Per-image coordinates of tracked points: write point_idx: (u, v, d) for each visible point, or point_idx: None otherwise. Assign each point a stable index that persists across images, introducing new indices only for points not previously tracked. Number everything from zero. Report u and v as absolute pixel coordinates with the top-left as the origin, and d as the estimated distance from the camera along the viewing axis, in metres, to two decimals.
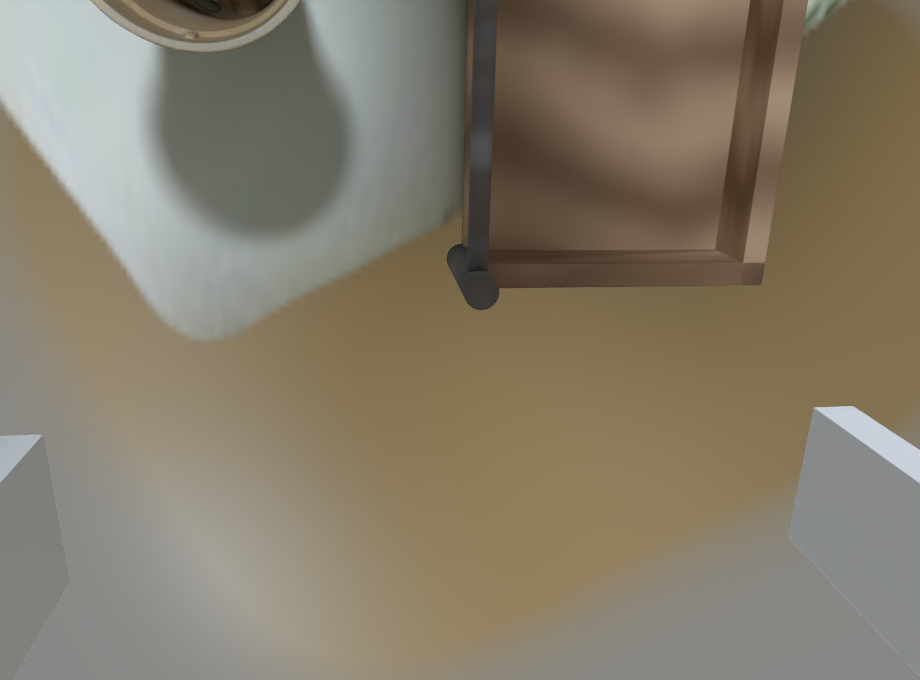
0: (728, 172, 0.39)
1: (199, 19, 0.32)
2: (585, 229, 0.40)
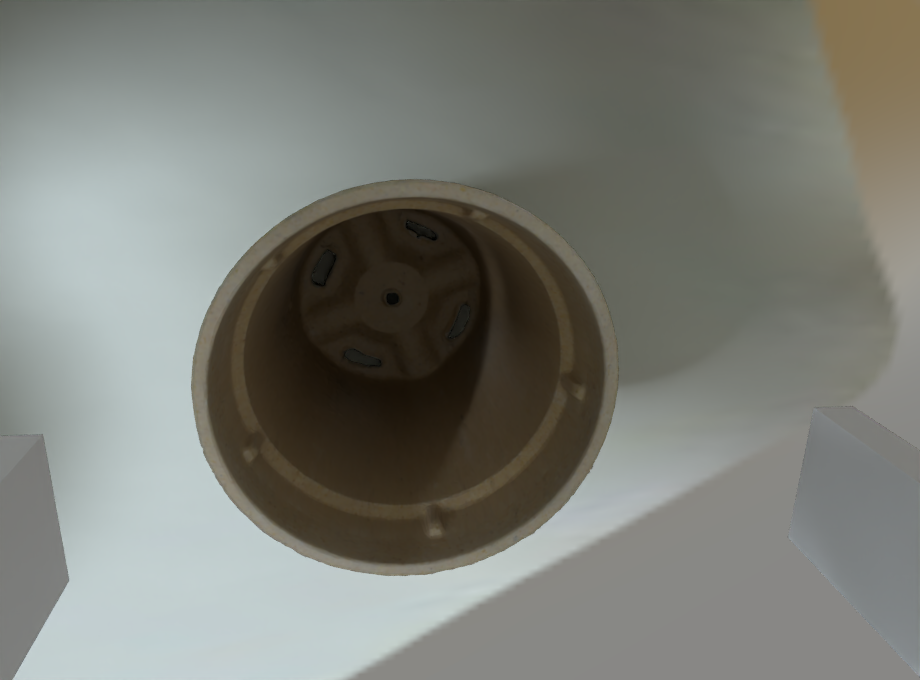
0: None
1: (501, 344, 0.22)
2: None
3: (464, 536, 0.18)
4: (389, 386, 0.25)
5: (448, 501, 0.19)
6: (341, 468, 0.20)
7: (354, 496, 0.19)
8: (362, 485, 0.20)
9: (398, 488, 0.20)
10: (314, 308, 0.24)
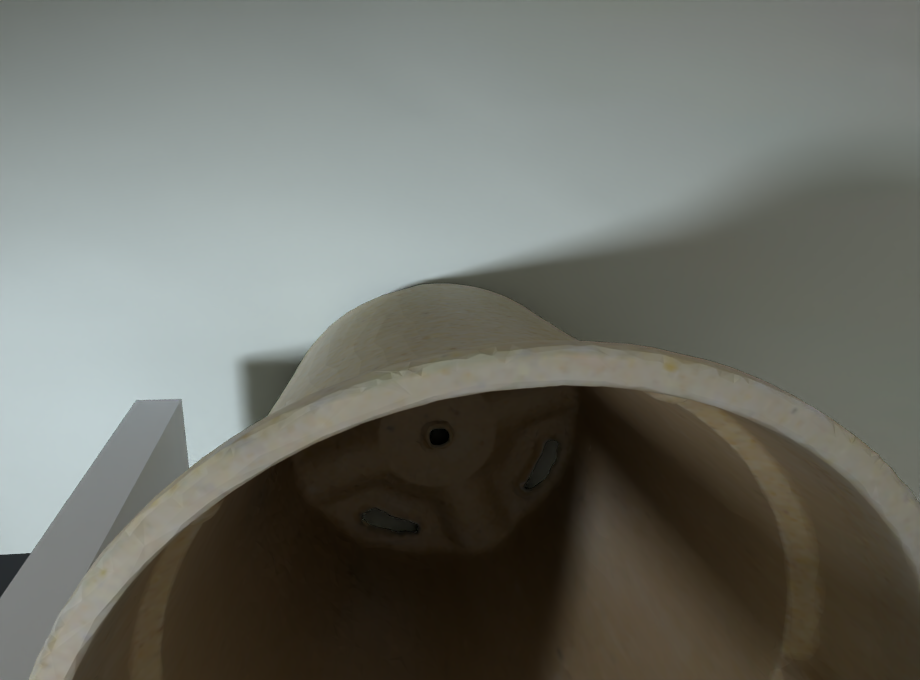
0: None
1: (624, 527, 0.13)
2: None
3: None
4: (432, 567, 0.16)
5: None
6: None
7: None
8: None
9: None
10: (314, 451, 0.15)
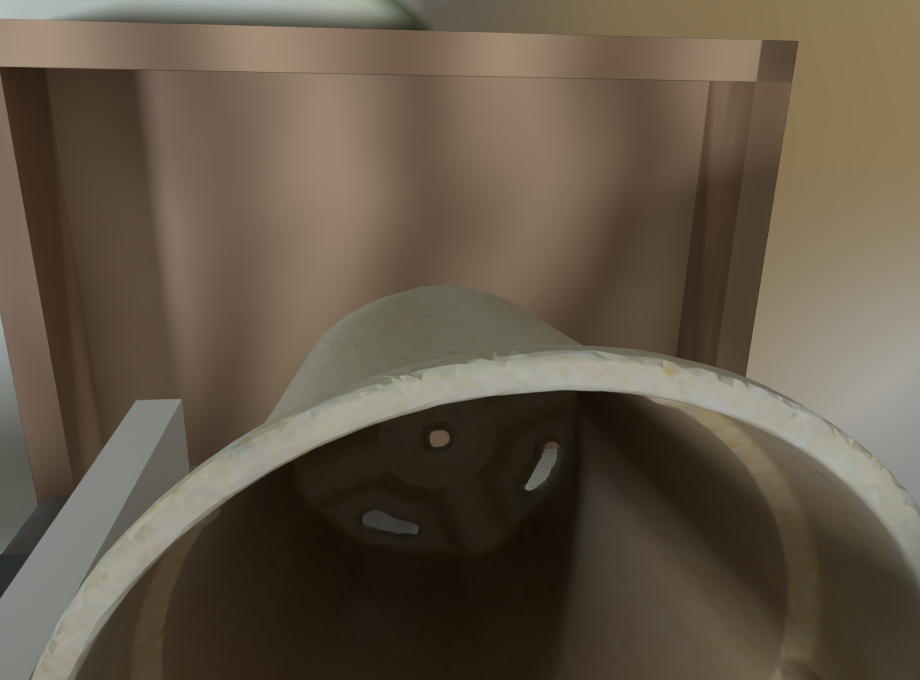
0: None
1: (624, 529, 0.13)
2: (656, 289, 0.28)
3: None
4: (432, 568, 0.16)
5: None
6: None
7: None
8: None
9: None
10: (315, 453, 0.15)
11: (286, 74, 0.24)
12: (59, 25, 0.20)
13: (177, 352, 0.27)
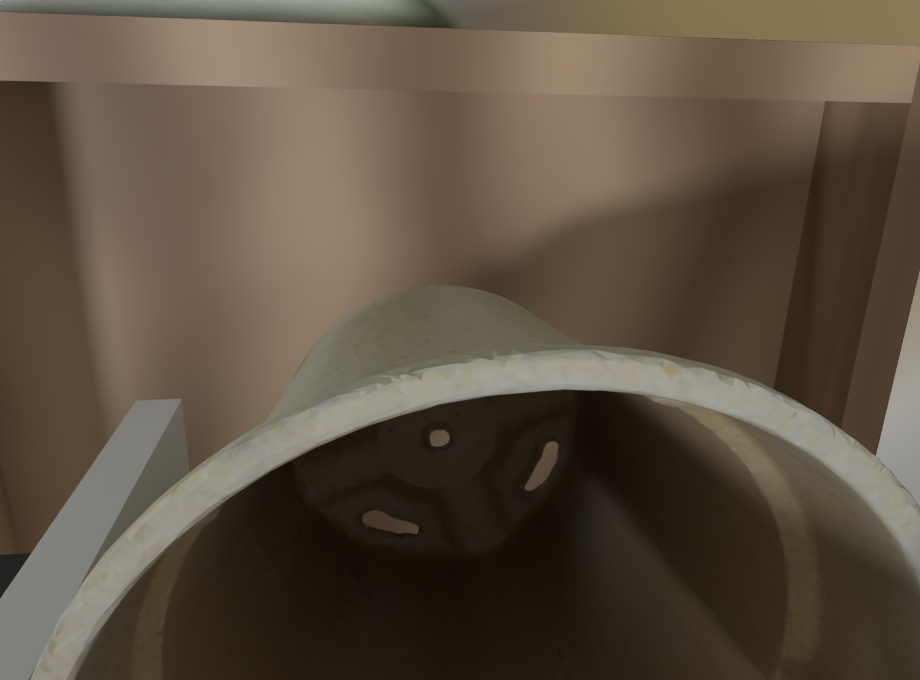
0: None
1: (625, 529, 0.13)
2: (742, 366, 0.22)
3: None
4: (432, 568, 0.16)
5: None
6: None
7: None
8: None
9: None
10: (314, 453, 0.15)
11: (261, 87, 0.18)
12: None
13: None
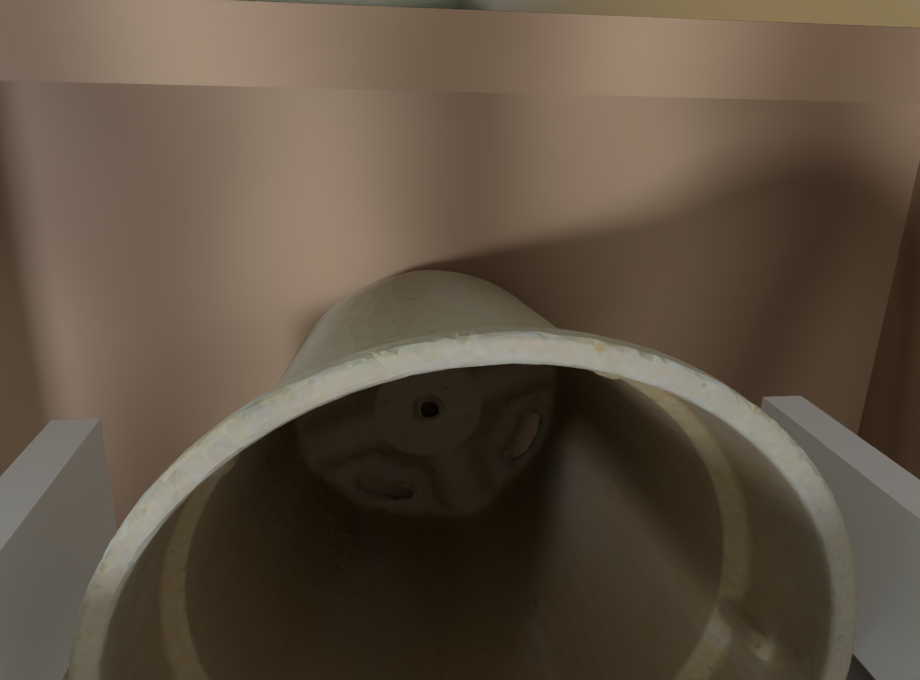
0: None
1: (595, 491, 0.15)
2: None
3: None
4: (423, 528, 0.17)
5: None
6: None
7: None
8: None
9: None
10: (316, 422, 0.16)
11: (247, 87, 0.14)
12: None
13: None
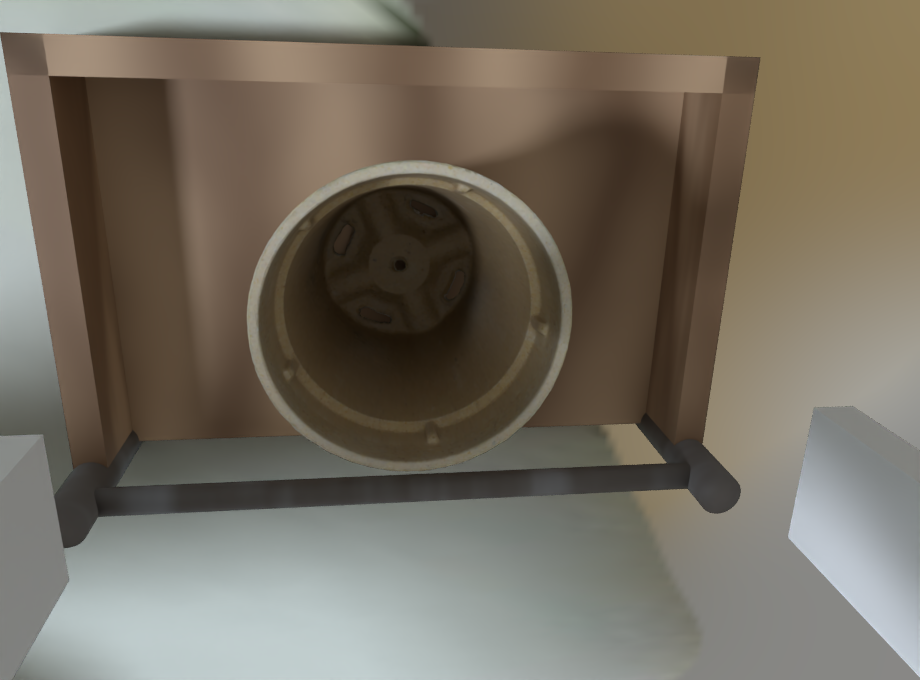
0: None
1: (488, 300, 0.27)
2: (635, 281, 0.31)
3: (454, 443, 0.23)
4: (397, 338, 0.30)
5: (443, 419, 0.24)
6: (358, 394, 0.25)
7: (368, 414, 0.24)
8: (374, 407, 0.25)
9: (403, 410, 0.25)
10: (335, 272, 0.29)
11: (300, 83, 0.27)
12: (102, 40, 0.23)
13: (198, 333, 0.29)
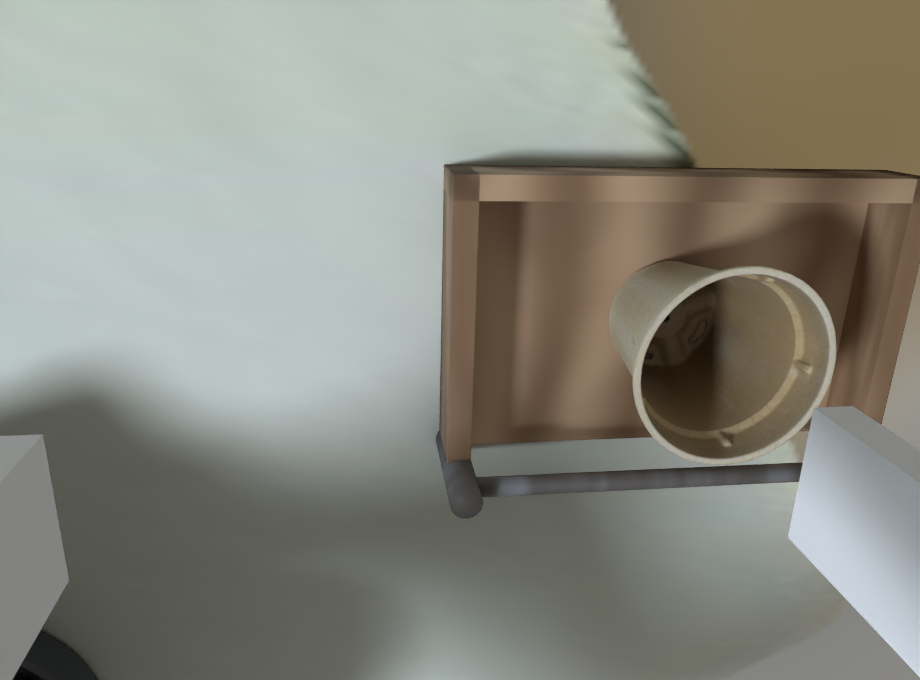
0: None
1: (738, 344, 0.39)
2: None
3: (744, 445, 0.35)
4: (658, 370, 0.41)
5: (728, 429, 0.36)
6: (665, 412, 0.36)
7: (679, 426, 0.35)
8: (679, 421, 0.36)
9: (696, 423, 0.36)
10: None
11: None
12: (516, 177, 0.34)
13: (517, 367, 0.41)
